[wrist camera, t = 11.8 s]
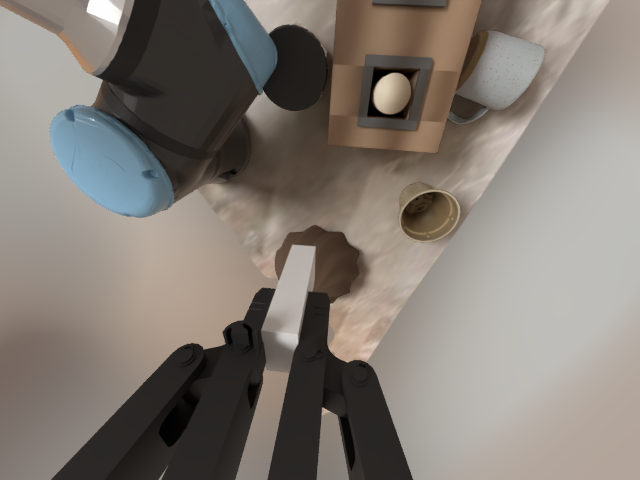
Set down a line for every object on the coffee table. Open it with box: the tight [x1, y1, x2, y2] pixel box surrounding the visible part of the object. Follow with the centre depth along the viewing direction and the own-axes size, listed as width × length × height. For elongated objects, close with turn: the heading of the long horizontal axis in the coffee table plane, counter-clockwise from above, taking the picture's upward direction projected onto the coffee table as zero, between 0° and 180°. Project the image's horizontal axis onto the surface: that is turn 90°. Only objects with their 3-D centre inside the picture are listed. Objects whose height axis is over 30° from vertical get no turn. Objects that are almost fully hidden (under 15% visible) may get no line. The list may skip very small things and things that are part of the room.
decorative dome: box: [275, 225, 359, 303], centre depth 52 cm, size 19×20×10 cm
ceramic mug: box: [448, 30, 545, 125], centre depth 33 cm, size 11×8×8 cm
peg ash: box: [369, 73, 411, 114], centre depth 32 cm, size 4×4×11 cm
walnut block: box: [328, 0, 482, 153], centre depth 30 cm, size 14×23×13 cm, turn 177°
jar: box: [263, 21, 328, 111], centre depth 32 cm, size 9×8×12 cm
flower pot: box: [399, 183, 460, 242], centre depth 42 cm, size 9×9×9 cm
